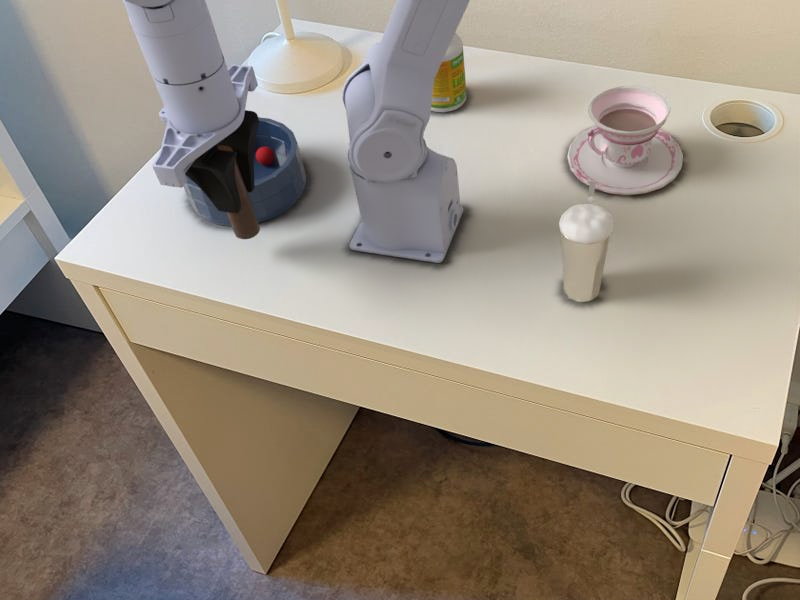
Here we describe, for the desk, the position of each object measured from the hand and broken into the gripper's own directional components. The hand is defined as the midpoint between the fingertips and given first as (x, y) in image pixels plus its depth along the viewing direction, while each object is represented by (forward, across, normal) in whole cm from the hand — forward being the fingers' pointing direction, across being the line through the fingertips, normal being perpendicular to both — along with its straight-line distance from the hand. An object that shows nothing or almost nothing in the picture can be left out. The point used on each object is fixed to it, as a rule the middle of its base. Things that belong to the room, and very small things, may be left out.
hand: (236, 199), depth 75 cm
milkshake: (+7, -2, +32) cm, 33 cm away
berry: (+5, -12, -4) cm, 14 cm away
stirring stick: (+4, 0, 0) cm, 4 cm away
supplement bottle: (+7, -28, +11) cm, 31 cm away
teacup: (+7, -21, +33) cm, 40 cm away
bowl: (+7, -9, -5) cm, 12 cm away
